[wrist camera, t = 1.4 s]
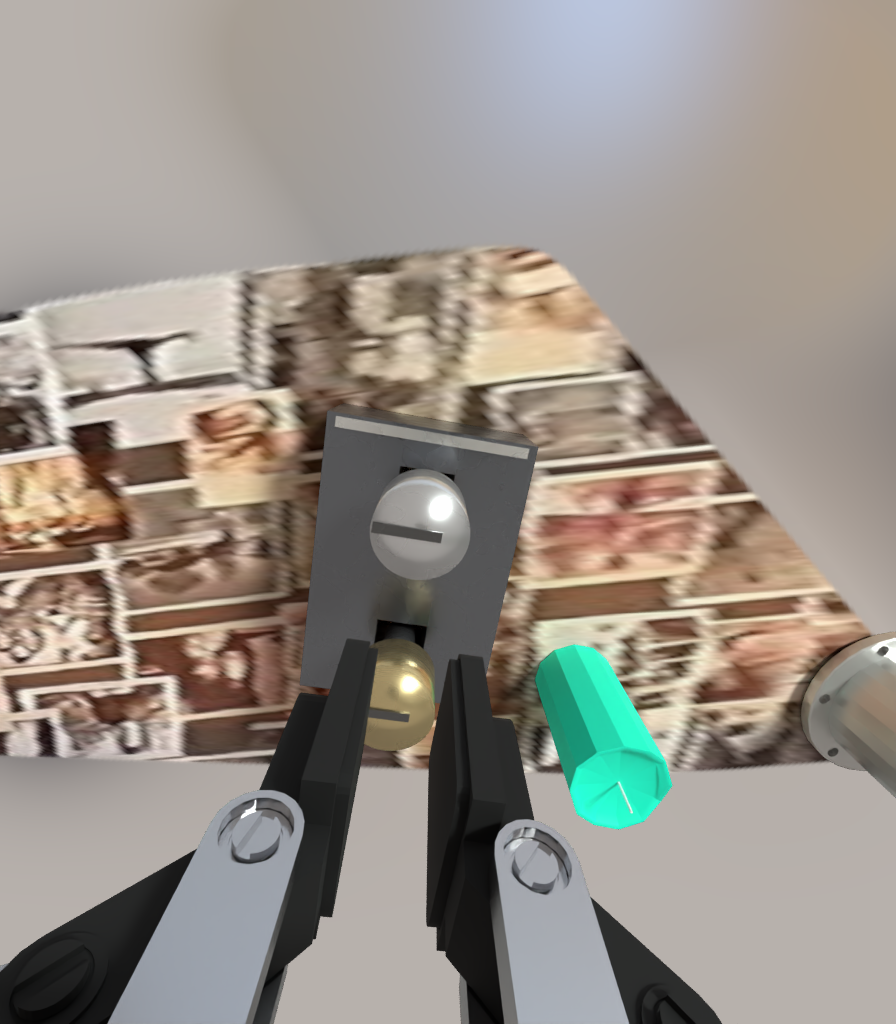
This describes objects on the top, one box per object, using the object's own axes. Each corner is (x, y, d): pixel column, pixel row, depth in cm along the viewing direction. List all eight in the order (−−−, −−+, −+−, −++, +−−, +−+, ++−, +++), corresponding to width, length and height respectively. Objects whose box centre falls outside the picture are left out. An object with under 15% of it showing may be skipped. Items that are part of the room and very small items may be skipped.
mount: (523, 434, 33) (538, 447, 28) (473, 664, 38) (478, 709, 33) (343, 403, 32) (327, 410, 27) (317, 643, 37) (299, 686, 32)
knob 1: (467, 460, 29) (479, 494, 22) (454, 531, 31) (460, 587, 23) (391, 447, 29) (376, 478, 21) (381, 520, 30) (363, 573, 23)
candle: (557, 721, 40) (607, 868, 28) (520, 668, 38) (558, 801, 26) (623, 687, 39) (703, 823, 27) (588, 631, 37) (657, 751, 26)
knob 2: (439, 607, 32) (441, 684, 25) (428, 667, 33) (427, 757, 26) (370, 597, 32) (350, 672, 24) (362, 657, 33) (340, 746, 25)
